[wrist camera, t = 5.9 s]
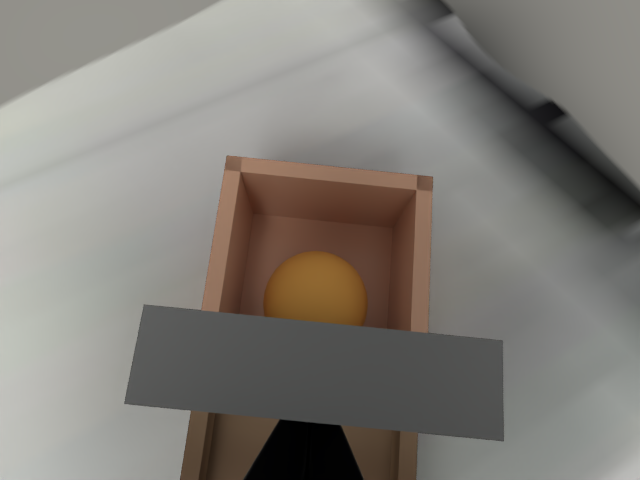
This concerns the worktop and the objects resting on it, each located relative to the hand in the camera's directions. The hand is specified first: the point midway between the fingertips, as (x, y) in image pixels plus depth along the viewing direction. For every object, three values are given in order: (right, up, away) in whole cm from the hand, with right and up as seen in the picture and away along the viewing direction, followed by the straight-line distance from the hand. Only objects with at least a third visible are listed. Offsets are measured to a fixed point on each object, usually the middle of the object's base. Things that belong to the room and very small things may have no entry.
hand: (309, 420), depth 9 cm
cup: (0, +1, +9) cm, 9 cm away
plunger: (0, -1, +6) cm, 6 cm away
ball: (0, +1, +7) cm, 7 cm away
